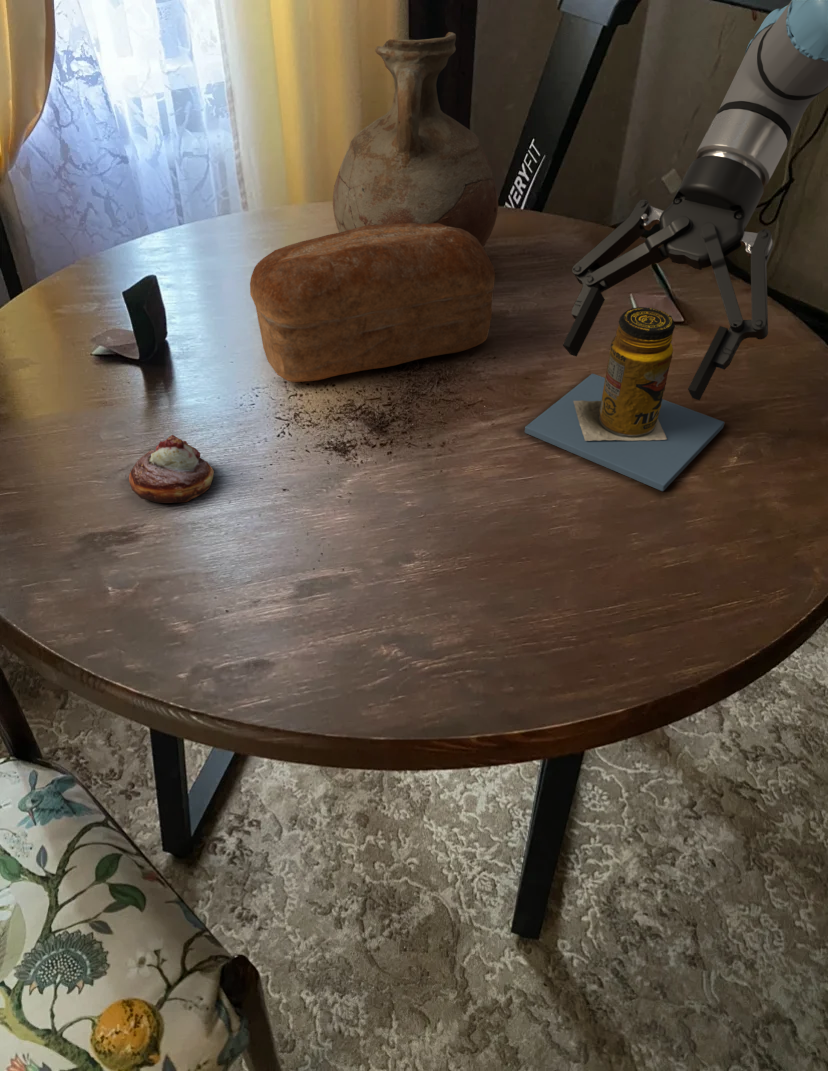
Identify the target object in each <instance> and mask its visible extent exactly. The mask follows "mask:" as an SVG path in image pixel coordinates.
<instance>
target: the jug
mask: <svg viewBox="0 0 828 1071" xmlns="http://www.w3.org/2000/svg"><path fill="white" fill-rule="evenodd" d="M456 40H457V34H456V33H454V32H452V31H448V32H447V33H446V34H445V35H444V36H443V37H434V38H425V39H399V38H397V39H396V38H395V39H393V38H392V39H388V40H386V42H384V44H383V45H381V46H380V45H378V46H376V47H375V48H374V49H375V50H374V52H375V53H376V54H377V55H378V56H379V57H381V59H382V61H383V63H384V67H385V68H386V69H387V70H388V71H389V72H390V74H391V76H392V78H393V84H394V96H393V100H392V104H391V108H390V109H389V111H387V113H385V114H384V115H382V116H380V117H378V118H377V119H375V120H374V121H373V122H371V123H370V124H368V125H367V126H366V127H364V128H363V129H361V130H360V131H359V132H358V133H357V134H355V135H354V137H353V138H352V139H351V140H350V143H349V146H348V148H347V150H346V153H345V154H344V157H343V159H342V161H341V164H340V167H339V170H338V173H337V176H336V179H335V183H334V185H333V194H332V210H333V216H334V221H335V225H336V228H337V231H338V233H340V232H344V231H347V230H351V229H355V228H358V227H362V226H366V225H391V224H407V223H417V224H432V223H439V224H442V225H445V226H449V227H455V228H460V229H463V230H465V231H467V232H469V233H470V234H471V235H473V236H474V237H476V238H477V239H478V241H479V242H480V244H481V245H482V247H483V248H484V247H485V245H486V244H487V242H488V240H489V238H490V236H491V235H492V232H493V230H494V227H495V225H496V222H497V218H498V210H499V198H498V191H497V190H498V189H497V186H496V181H495V176H494V173H493V169H492V166H491V163H490V161H489V159H488V156H487V154H486V152H485V151H484V148H483V146H482V144H481V142H480V139H479V137H478V135H476V134H475V133H474V132H473V131H472V130H470V129H469V128H467V127H466V126H465V125H463V124H462V123H460V122H459V121H457V120H456V119H455V118H453V117H451V116H450V115H448V114H446V113H445V112H443V111H442V109H441V106H440V103H439V98H438V91H437V81H438V77H439V75H440V73H441V72H442V71H443V69H445V68H446V66H447V64H448V61H449V58H450V57H451V56H452V55H453V54H454V53H455V52H456V50H457V47H456Z"/></svg>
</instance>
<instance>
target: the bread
mask: <svg viewBox="0 0 828 1071" xmlns="http://www.w3.org/2000/svg"><path fill="white" fill-rule="evenodd" d="M495 277H496V272H495V267H494V265H493V263H492V261H491V260H490V257H489V256H488V253H487V252H486V250H485V248H484V247H482V245H481V244H480V242H479V241H478V239H477V238H476V237H474V236H473V235H471V234H470V233H469V232H467V231H465V230H463V229H460V228H455V227H449V226H445V225H442V224H439V223H432V224H417V223H407V224H391V225H366V226H362V227H358V228H355V229H351V230H347V231H344V232H340V233H339V232H335V233H331V234H326V235H322V236H319V237H314V238H311V239H306V240H302V241H299V242H295V243H291V244H288V245H285V246H283V247H280V248H278V249H274V250H273V251H271V252H270V253H269V254H267V255H266V256H264V257H263V258H261V259H260V261H258V262H257V263H256V265H254V268H253V271H252V274H251V276H250V281H249V291H250V292H249V293H250V295H249V296H250V297H251V299H252V301H253V303H254V307H255V311H256V317H257V321H258V322H257V323H258V326H259V331H260V336H261V342H262V343H261V344H262V348H263V351H264V354H265V357H266V360H267V362H268V364H269V365H270V366H271V368H272V369H273V371H274V372H275V373H276V375H278V376H279V377H281V378H282V379H284V380H286V381H287V382H291V383H292V382H293V383H300V382H301V383H302V382H313V381H314V382H315V381H321V380H326V379H329V378H333V377H337V376H341V375H346V374H352V373H356V372H362V371H368V370H373V369H374V370H375V369H382V368H388V367H394V366H398V365H401V364H405V363H409V362H414V361H417V360H422V359H427V358H431V357H436V356H443V355H451V354H456V353H460V352H463V351H468V350H470V349H473V348H475V347H478V346H479V345H481V344H483V343H484V342H485V341H486V340H487V339H488V336H489V330H490V326H491V321H492V316H493V296H494V288H495Z"/></svg>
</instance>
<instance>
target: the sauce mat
mask: <svg viewBox="0 0 828 1071" xmlns="http://www.w3.org/2000/svg"><path fill="white" fill-rule="evenodd" d="M604 383H605V377H603V376H601V375H598V374H595V373H590V374H589V375H588V376H587V377H586V378H585V379H583V380H582V381H581V382H580V383H578V384H577V385H576V386H575V387H573V388H572V389H571V390H570V391H569V392H567V393H565V395H564V396H562V397H561V398H559V400H557V401H556V402H554V403H553V404H551V406H549V407H548V408H547V409H545V411H543V412H542V413H541V414H539V415H538V416H537V417H536V418H534V419H533V420H531V421H530V423H528V424H526V426H525V427H524V434H526V435H529V436H530V437H534V438H536V439H538V440H541V441H543V442H545V443H547V444H550V445H552V446H555V447H557V448H559V449H562V450H564V451H567V452H568V453H571V454H573V455H576V456H578V457H580V458H583V459H585V460H588V461H590V462H592V463H594V464H597V465H599V466H602V467H604V468H606V469H608V470H611V471H613V472H616V473H618V474H620V475H623V476H625V477H628V478H629V479H632V480H635V481H637V482H639V483H641V484H644V485H647V486H649V487H652V488H653V489H656V490H658V491H661V492H664V491H665V490H666V489H667V488H668V487H669V486H670V485H671V484H672V483H673V482H674V480H675V479H676V478H678V476H679V475H680V474H681V473H682V472H684V470H685V469H686V468H687V467H688V466H689V465H690V464H691V463H692V462H693V461H694V459H695V458H696V457H698V455H699V454H700V453H701V452H702V451H703V450H704V449H705V448H706V447H707V446H708V445H709V443H710V442H711V441H712V440H713V439H715V437H716V436H717V435H718V434H719V433H720V431H722V430H723V429H724V426H725V421H723V420H720V419H717V418H715V417H712V416H710V415H706V414H704V413H701V412H699V411H696V410H693V409H690V408H687V407H685V406H682V405H680V404H677V403H674V402H671V401H668V400H665V399H664V398H662V403H661V408H660V411H659V415H658V420H659V422H660V424H661V427H662V429H663V431H664V433H665V435H666V438H667V439H665V440H634V441H625V440H601V441H597V440H591V441H585V439H584V436H583V433H582V429H581V427H580V423H579V420H578V417H577V413H576V409H575V405H574V402H573V401H581V400H583V401H602V395H603V389H604Z"/></svg>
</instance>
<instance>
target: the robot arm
mask: <svg viewBox="0 0 828 1071" xmlns="http://www.w3.org/2000/svg"><path fill="white" fill-rule="evenodd" d="M827 88H828V0H790V2H789V3H788V4H787V5H786V6H784V7H781V8H776V9H774V10H771V12H770V13H769V14H768V15H767V16H765V18H764V19H763V21H762V23H761V25H760V26H759V28H758V30H757V31H756V33H755V35H754V37H753V38H751V39H750V41H749V42H748V45H747V47H746V50H745V54H744V57H743V58H742V61H741V63H740V65H739V67H738V69H737V71H736V72H735V75H734V77H733V80H732V81H731V84H730V86H729V87H728V89H727V92H726V94H725V95H724V98H723V100H722V102H721V104H720V106H719V109H718V110H717V111H716V114H715V115H714V118H712V121H711V122H710V125H709V127H708V129H707V131H706V132H705V135H704V136H703V138H702V140H701V142H700V144H699V146H698V148H697V150H696V152H695V154H694V160H693V161H691V163H690V164H689V166H688V168H687V170H686V172H685V174H684V177H683V179H682V181H681V182H680V185H679V186H678V189H677V190H676V193H675V195H674V197H673V200H672V202H671V204H670V205H668V207H666V208H665V209H664V210H662V209H660V208H657V207H654V206H653V205H651V204H650V201H649V200H648V199H647V198H641V199H640V200H639V201H638V202H637V203H636V204H635V206H634V208H633V209H632V211H631V213H630V214H629V216H628V217H627V218H626V219H624V221H623V222H621V223H620V224H619V225H618V226H617V227H616V228H615V229H613V230H612V231H611V232H610V233H609V234H608V235H607V236H606V237H604V238H603V239H602V240H601V241H600V242H599V243H597V245H595V246H594V247H593V248H592V249H591V250H590V251H589V252H587V253H586V254H585V255H584V256H583V257H582V258H580V260H578V261H577V262H576V263H575V264H574V265H573V266H572V268H571V271H572V274H573V275H574V277H575V278H576V280H577V281H578V283H579V284H580V285H582V288H581V290H580V292H579V294H578V296H577V299H576V300H575V302H574V304H573V306H572V308H571V316H572V318H573V319H574V321H573V323H572V325H571V327H570V330H569V331H568V333H567V335H566V337H565V339H564V342H563V343H562V346H563V347H564V348H565V350H566V351H567V353H569V355H570V356H574V357H575V358H576V357H577V356H578V355H579V353H580V350H581V349H582V346H583V345H584V343H585V341H586V339H587V337H588V334H589V332H590V330H591V329H592V326H593V325H594V322H595V321H596V318H597V316H598V315H599V313H600V311H601V308H602V306H603V304H604V303H605V301H606V299H605V297H604V295H603V294H602V293H603V292H605V291H607V290H608V289H610V288H612V287H614V286H615V285H617V284H619V283H621V282H623V281H625V280H626V279H628V278H630V277H632V276H634V275H635V274H637V273H638V272H641V271H643V270H645V269H646V268H647V267H649V266H651V265H653V264H660V263H661V262H664V261H665V260H667V259H669V260H671V263H674V264H676V265H677V264H678V265H688V266H690V267H691V268H692V269H696V270H699V271H702V270H703V269H706V268H710V267H712V271H713V274H714V277H715V281H716V285H717V287H718V290H719V294H720V298H721V301H722V304H723V307H724V310H725V314H726V318H727V321H728V324H729V328H728V327H724V326H721V325H719V327H718V329H717V331H716V333H715V335H714V337H713V339H712V341H711V342H710V345H709V346H708V349H707V350H706V352H705V354H704V356H703V358H702V360H701V362H700V364H699V366H698V368H697V370H696V372H695V374H694V375H693V378H692V380H691V382H690V384H689V386H688V387H687V391H688V393H689V394H690V397H691V398H692V399H693V400H696V401H698V402H699V401H701V399H702V398H703V395H704V393H705V391H706V389H707V387H708V386H709V383H710V381H711V380H712V377H713V375H714V373H715V372H716V369H717V368H718V369H721V370H726V369H727V368H729V366H730V365H731V362H732V360H733V359H734V357H735V355H736V352H737V351H738V349H739V347H740V345H741V343H742V342H743V341H744V340H746V339H753V338H755V339H757V340H764V339H765V338H767V337H768V335H769V316H768V315H769V313H768V311H769V310H768V309H769V308H768V269H767V265H768V262H769V259H770V256H771V255H772V254H771V253H772V251H773V248H774V243H773V236H772V231H771V230H770V229H769V228H763V229H760V230H759V231H758V232H752V231H746V228H747V225H748V224H749V222H750V220H751V218H752V216H753V215H754V212H755V210H756V208H757V206H758V205H759V203H760V201H761V198H762V196H763V194H764V189H765V187H767V185H768V184H769V182H770V179H772V176H773V174H774V172H775V170H776V168H777V166H778V165H779V163H780V160H781V159H782V157H783V154H784V153H785V151H786V149H787V146H788V144H789V142H790V140H791V138H792V136H793V134H794V133H795V130H796V128H797V126H798V125H799V123H800V121H801V119H802V117H803V115H804V113H805V112H806V110H807V108H808V107H809V105H810V104H811V102H812V101H813V100H814V99H815V98H817V96H819V95H820V94H821V93H823V92H824V91H825V90H826V89H827ZM655 225H659V228H660V229H659V230H658V231H656V232H654V233H653V234H651V235H649V236H648V237H646V239H645V241H644V242H642V243H640V244H639V245H637V246H636V247H633V248H632V249H630V250H628V251H627V252H625V251H626V250H627V249H628V248H629V247H631V245H633V244H634V243H635V242H636V241H638V239H640V238H641V237H642V235H643V234H644V233H645V231H651V230H652V228H653V227H654V226H655ZM742 246H743V247H744V248H745V253H746V256H747V257H748V258H749V259H750V293H751V295H750V296H751V319H744V318H743V314H742V312H741V308H740V305H739V302H738V299H737V295H736V292H735V289H734V285H733V282H732V279H731V276H730V273H729V270H728V266H727V263H726V259H725V258H726V257H728V256H729V255H731V254H732V253H734V252H736V251H737V250H738V249H740V248H741V247H742ZM624 252H625V253H624ZM623 253H624V254H623ZM621 254H622V255H621Z"/></svg>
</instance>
